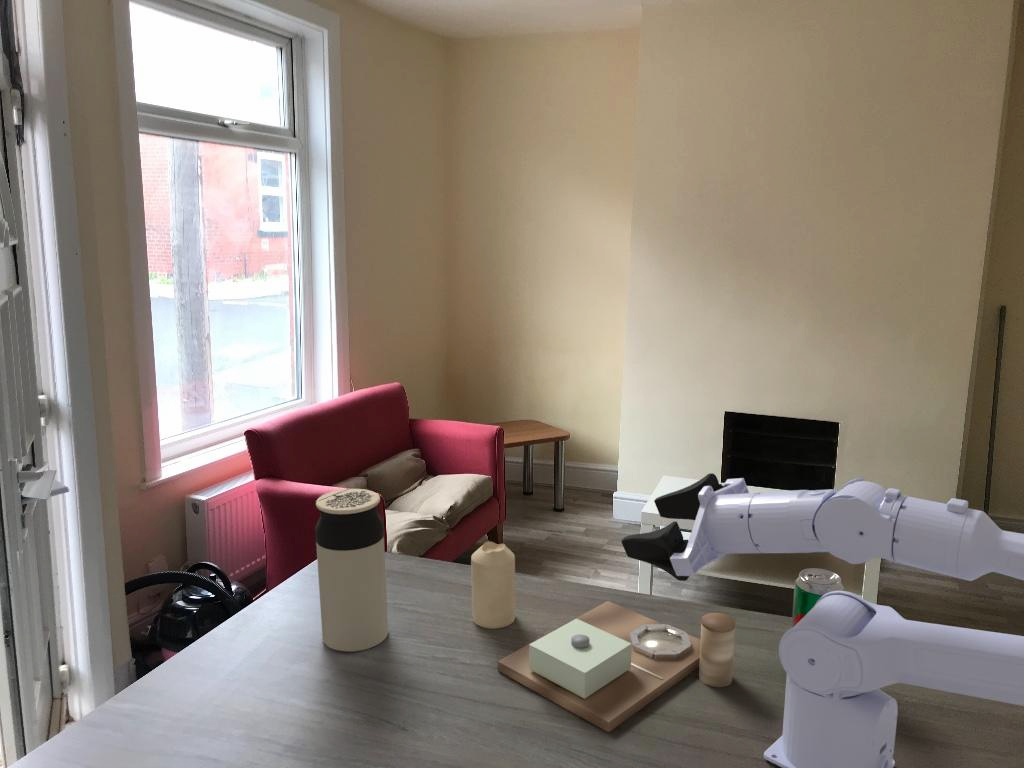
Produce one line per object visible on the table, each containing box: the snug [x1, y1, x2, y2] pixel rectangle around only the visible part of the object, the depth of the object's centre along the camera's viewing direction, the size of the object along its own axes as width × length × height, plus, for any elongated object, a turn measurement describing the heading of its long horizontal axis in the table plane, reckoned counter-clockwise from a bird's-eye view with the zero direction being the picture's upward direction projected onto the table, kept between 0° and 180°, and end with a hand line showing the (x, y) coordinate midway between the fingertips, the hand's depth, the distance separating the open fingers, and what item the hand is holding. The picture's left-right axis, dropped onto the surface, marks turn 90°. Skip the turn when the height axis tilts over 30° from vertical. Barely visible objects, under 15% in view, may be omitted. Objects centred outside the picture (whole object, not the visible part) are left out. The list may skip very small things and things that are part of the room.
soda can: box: [791, 567, 845, 628], centre depth 91 cm, size 5×5×12 cm
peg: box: [698, 612, 736, 688], centre depth 91 cm, size 4×4×7 cm
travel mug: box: [315, 488, 389, 652], centre depth 99 cm, size 8×8×18 cm
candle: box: [470, 541, 516, 630], centre depth 104 cm, size 6×6×10 cm
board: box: [497, 600, 701, 733], centre depth 95 cm, size 16×20×1 cm
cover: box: [528, 618, 632, 699], centre depth 91 cm, size 8×8×4 cm
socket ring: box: [630, 623, 691, 659], centre depth 97 cm, size 7×7×1 cm
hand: (642, 526), depth 87 cm, fingers open, 7 cm apart
